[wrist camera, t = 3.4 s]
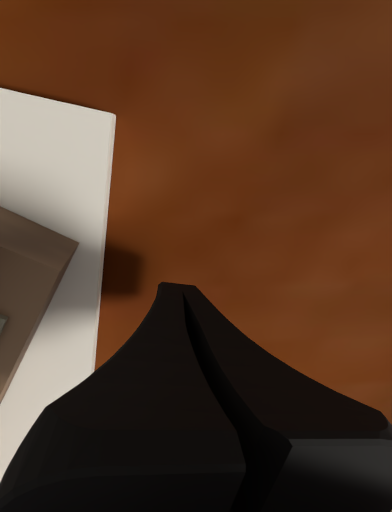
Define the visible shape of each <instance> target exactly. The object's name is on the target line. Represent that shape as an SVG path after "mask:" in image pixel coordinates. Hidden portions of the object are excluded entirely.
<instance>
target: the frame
mask: <svg viewBox="0 0 392 512" xmlns="http://www.w3.org/2000/svg"><path fill="white" fill-rule="evenodd" d="M78 245H79V242H77V241H75V240H72V239H70V238H68V237H66V236H64V235H61V234H59V233H57V232H55V231H53V230H51V229H48V228H46V227H44V226H42V225H40V224H38V223H35V222H33V221H31V220H29V219H27V218H25V217H22V216H20V215H18V214H16V213H14V212H11V211H9V210H7V209H5V208H3V207H1V206H0V404H1V402H2V400H3V398H4V396H5V394H6V392H7V390H8V388H9V386H10V384H11V382H12V380H13V378H14V376H15V374H16V371H17V369H18V367H19V365H20V363H21V361H22V359H23V357H24V355H25V353H26V351H27V349H28V347H29V345H30V343H31V341H32V339H33V337H34V335H35V333H36V331H37V329H38V327H39V325H40V323H41V321H42V319H43V316H44V314H45V312H46V310H47V308H48V306H49V304H50V302H51V300H52V298H53V296H54V294H55V292H56V290H57V288H58V286H59V284H60V282H61V280H62V278H63V276H64V274H65V272H66V270H67V268H68V266H69V264H70V261H71V259H72V257H73V255H74V253H75V251H76V249H77V247H78Z"/></svg>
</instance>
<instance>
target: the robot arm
mask: <svg viewBox="0 0 392 512" xmlns="http://www.w3.org/2000/svg"><path fill="white" fill-rule="evenodd" d="M391 510H392V425H391V423H390V422H389V421H388V420H387V419H386V417H385V416H384V415H383V414H382V413H381V412H380V411H378V410H376V409H374V408H371V407H369V406H367V405H365V404H363V403H360V402H358V401H356V400H354V399H351V398H349V397H347V396H345V395H343V394H340V393H338V392H336V391H334V390H332V389H330V388H328V387H326V386H324V385H322V384H320V383H318V382H317V381H315V380H313V379H311V378H309V377H307V376H305V375H304V374H302V373H300V372H298V371H297V370H295V369H293V368H292V367H290V366H288V365H287V364H285V363H284V362H282V361H280V360H279V359H277V358H276V357H274V356H273V355H271V354H270V353H268V352H267V351H265V350H264V349H263V348H261V347H260V346H259V345H257V344H256V343H255V342H253V341H252V340H251V339H249V338H248V337H247V336H246V335H244V334H243V333H242V332H241V331H240V330H239V329H238V328H236V327H235V326H234V325H233V324H232V323H231V322H230V321H229V320H228V319H227V318H226V317H224V316H223V315H222V314H221V313H220V312H219V311H218V310H217V309H216V307H215V306H214V305H213V304H212V303H211V302H210V301H209V300H208V299H207V298H206V297H205V296H204V295H203V294H202V292H201V291H200V290H199V289H198V288H197V287H196V286H193V285H184V284H176V283H167V282H161V283H160V284H159V285H158V290H157V296H156V299H155V301H154V303H153V305H152V307H151V309H150V310H149V312H148V314H147V315H146V317H145V318H144V320H143V321H142V323H141V324H140V326H139V327H138V328H137V330H136V331H135V332H134V333H133V335H132V336H131V337H130V338H129V339H128V340H127V342H126V343H125V344H124V345H123V346H122V347H121V348H120V349H119V350H118V351H117V352H116V353H115V354H114V355H113V356H112V357H111V358H110V359H109V360H108V361H107V362H105V363H104V364H103V365H102V366H101V367H99V368H98V369H97V370H96V371H95V372H93V373H92V374H91V375H90V376H89V377H87V378H86V379H85V380H84V381H82V382H81V383H80V384H78V385H77V386H75V387H74V388H72V389H71V390H69V391H68V392H67V393H65V394H64V395H62V396H61V397H59V398H58V399H56V400H55V401H53V402H52V403H51V404H49V405H47V406H46V407H45V408H44V410H43V411H42V412H41V414H40V415H39V417H38V418H37V420H36V421H35V422H34V424H33V425H32V427H31V428H30V430H29V431H28V433H27V435H26V436H25V438H24V439H23V441H22V442H21V444H20V446H19V447H18V449H17V451H16V453H15V455H14V456H13V458H12V460H11V461H10V463H9V465H8V467H7V469H6V471H5V473H4V475H3V477H2V480H1V482H0V512H390V511H391Z"/></svg>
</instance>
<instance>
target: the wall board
mask: <svg viewBox="0 0 392 512" xmlns="http://www.w3.org/2000/svg"><path fill="white" fill-rule="evenodd" d="M115 123H116V115H114V114H112V113H108V112H104V111H99V110H95V109H91V108H86V107H82V106H77V105H73V104H69V103H64V102H60V101H55V100H51V99H47V98H42V97H38V96H33V95H29V94H25V93H20V92H16V91H11V90H7V89H3V88H0V206H1V207H3V208H5V209H7V210H9V211H11V212H14V213H16V214H18V215H20V216H22V217H25V218H27V219H29V220H31V221H33V222H35V223H38V224H40V225H42V226H44V227H46V228H48V229H51V230H53V231H55V232H57V233H59V234H61V235H64V236H66V237H68V238H70V239H72V240H75V241H77V242H79V245H78V247H77V249H76V251H75V253H74V255H73V257H72V259H71V261H70V264H69V266H68V268H67V270H66V272H65V274H64V276H63V278H62V280H61V282H60V284H59V286H58V288H57V290H56V292H55V294H54V296H53V298H52V300H51V302H50V304H49V306H48V308H47V310H46V312H45V314H44V316H43V319H42V321H41V323H40V325H39V327H38V329H37V331H36V333H35V335H34V337H33V339H32V341H31V343H30V345H29V347H28V349H27V351H26V353H25V355H24V357H23V359H22V361H21V363H20V365H19V367H18V369H17V371H16V374H15V376H14V378H13V380H12V382H11V384H10V386H9V388H8V390H7V392H6V394H5V396H4V398H3V400H2V402H1V404H0V482H1V480H2V477H3V475H4V473H5V471H6V469H7V467H8V465H9V463H10V461H11V460H12V458H13V456H14V455H15V453H16V451H17V449H18V447H19V446H20V444H21V442H22V441H23V439H24V438H25V436H26V435H27V433H28V431H29V430H30V428H31V427H32V425H33V424H34V422H35V421H36V420H37V418H38V417H39V415H40V414H41V412H42V411H43V410H44V408H45V407H46V406H47V405H49V404H51V403H52V402H53V401H55V400H56V399H58V398H59V397H61V396H62V395H64V394H65V393H67V392H68V391H69V390H71V389H72V388H74V387H75V386H77V385H78V384H80V383H81V382H82V381H84V380H85V379H86V378H87V377H89V376H90V375H91V374H92V373H93V372H94V368H95V356H96V345H97V333H98V321H99V310H100V298H101V286H102V274H103V263H104V251H105V239H106V228H107V216H108V204H109V193H110V181H111V169H112V158H113V146H114V134H115Z"/></svg>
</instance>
